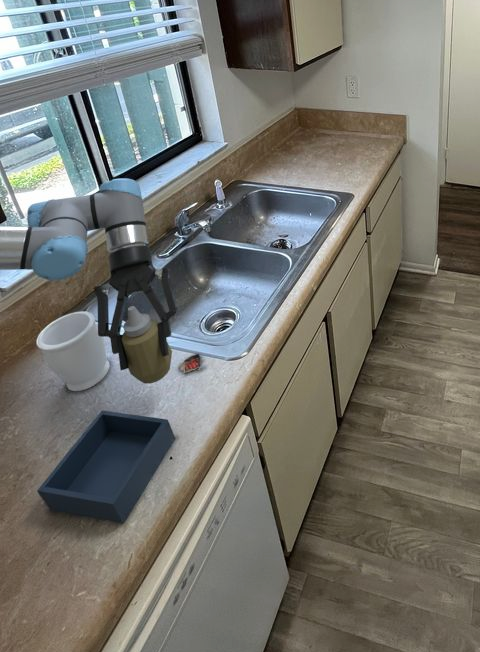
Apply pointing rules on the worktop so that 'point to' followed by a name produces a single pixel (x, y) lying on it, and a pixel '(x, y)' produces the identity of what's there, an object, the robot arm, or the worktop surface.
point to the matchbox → (191, 363)
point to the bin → (108, 466)
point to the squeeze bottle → (144, 348)
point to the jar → (75, 350)
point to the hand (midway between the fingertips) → (145, 362)
